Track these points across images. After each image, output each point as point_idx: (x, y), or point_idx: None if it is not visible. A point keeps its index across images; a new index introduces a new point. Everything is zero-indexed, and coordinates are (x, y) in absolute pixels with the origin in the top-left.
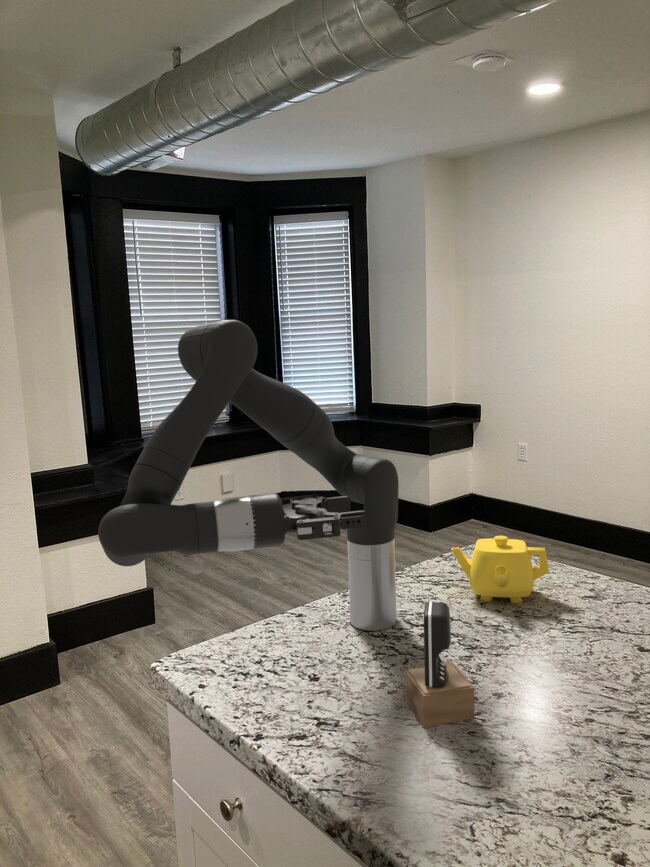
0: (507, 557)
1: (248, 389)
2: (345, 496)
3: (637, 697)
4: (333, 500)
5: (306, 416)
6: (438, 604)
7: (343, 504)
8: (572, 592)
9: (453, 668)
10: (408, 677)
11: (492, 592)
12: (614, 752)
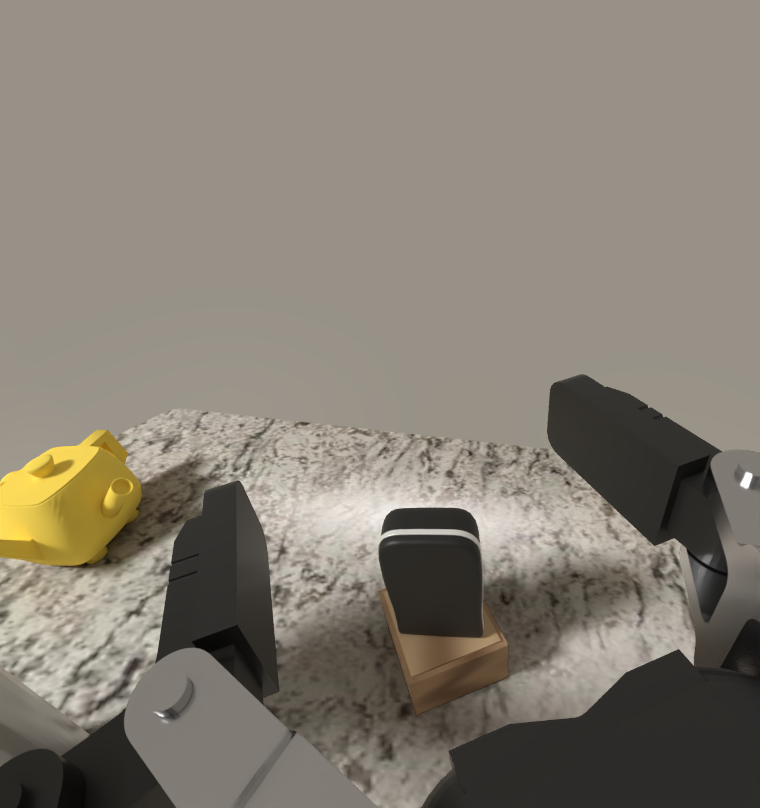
0: (91, 471)
1: None
2: (219, 496)
3: (401, 435)
4: (241, 580)
5: None
6: (409, 518)
7: (252, 542)
8: (145, 458)
9: None
10: (431, 678)
11: (111, 533)
12: (509, 462)
